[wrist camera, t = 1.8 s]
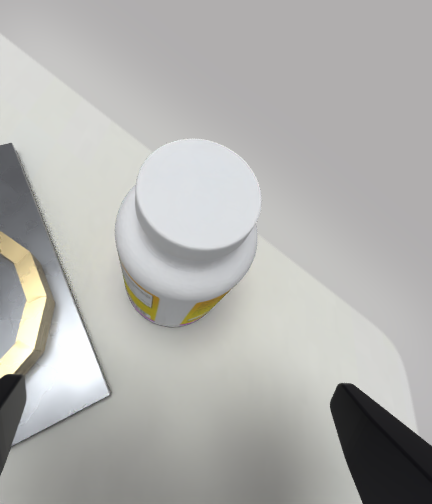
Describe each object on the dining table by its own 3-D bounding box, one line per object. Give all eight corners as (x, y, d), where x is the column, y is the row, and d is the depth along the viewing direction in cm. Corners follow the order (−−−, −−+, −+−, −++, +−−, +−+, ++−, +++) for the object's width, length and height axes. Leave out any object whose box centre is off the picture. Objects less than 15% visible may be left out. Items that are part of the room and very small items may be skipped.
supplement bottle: (224, 251, 25) (296, 144, 13) (208, 337, 23) (281, 299, 11) (139, 230, 24) (135, 96, 12) (112, 316, 22) (78, 251, 10)
